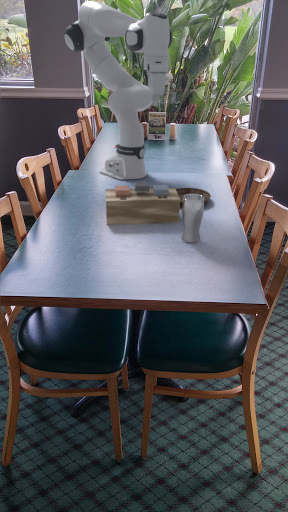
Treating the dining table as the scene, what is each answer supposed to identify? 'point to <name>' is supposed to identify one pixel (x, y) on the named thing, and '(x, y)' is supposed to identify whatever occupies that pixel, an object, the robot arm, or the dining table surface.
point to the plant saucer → (185, 191)
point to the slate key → (160, 190)
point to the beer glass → (192, 217)
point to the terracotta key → (122, 190)
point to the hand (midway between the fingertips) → (155, 105)
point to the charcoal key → (141, 186)
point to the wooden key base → (142, 207)
